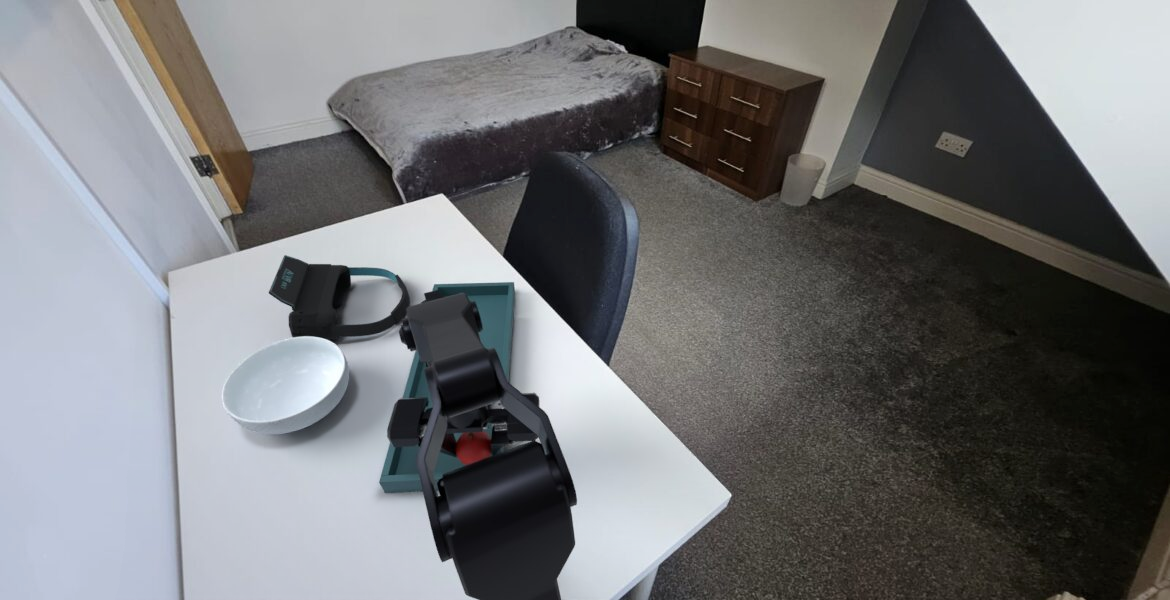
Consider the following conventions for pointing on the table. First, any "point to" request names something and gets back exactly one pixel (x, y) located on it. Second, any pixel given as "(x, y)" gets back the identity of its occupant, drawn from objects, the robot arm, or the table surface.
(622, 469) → the table surface
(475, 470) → the robot arm
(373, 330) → the virtual reality headset
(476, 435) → the apple
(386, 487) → the tray
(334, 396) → the cereal bowl
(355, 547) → the table surface
